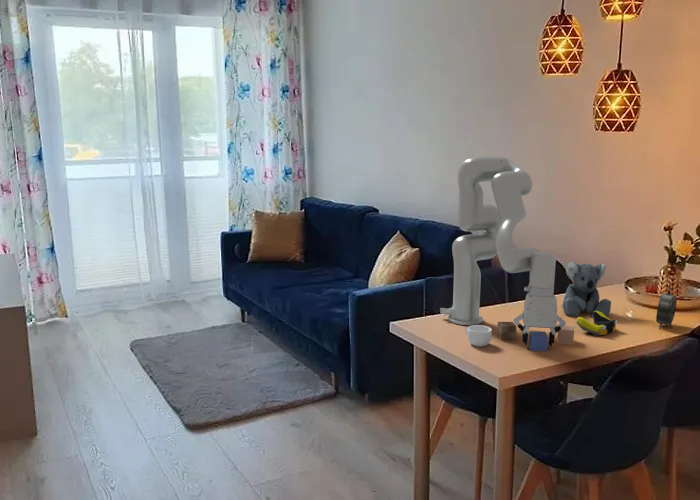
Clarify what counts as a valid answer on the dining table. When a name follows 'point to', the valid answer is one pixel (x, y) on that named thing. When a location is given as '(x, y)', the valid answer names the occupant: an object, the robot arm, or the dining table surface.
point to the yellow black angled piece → (597, 324)
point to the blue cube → (538, 341)
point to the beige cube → (566, 335)
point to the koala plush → (584, 290)
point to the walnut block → (506, 331)
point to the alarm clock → (666, 308)
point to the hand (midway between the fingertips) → (537, 344)
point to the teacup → (479, 335)
